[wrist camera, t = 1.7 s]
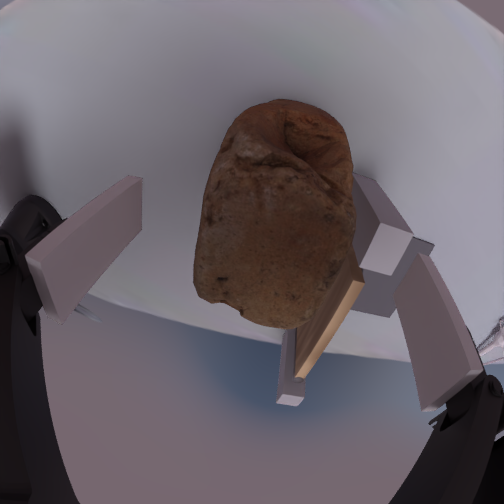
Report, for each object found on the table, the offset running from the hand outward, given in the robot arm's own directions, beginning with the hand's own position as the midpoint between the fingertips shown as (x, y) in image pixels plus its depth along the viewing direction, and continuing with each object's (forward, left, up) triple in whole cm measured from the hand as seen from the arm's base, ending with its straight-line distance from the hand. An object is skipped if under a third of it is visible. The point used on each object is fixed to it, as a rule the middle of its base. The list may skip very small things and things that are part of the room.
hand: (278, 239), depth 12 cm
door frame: (+9, -14, -19) cm, 25 cm away
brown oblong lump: (0, 0, -19) cm, 19 cm away
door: (+9, -16, -18) cm, 26 cm away
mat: (+16, -12, -19) cm, 28 cm away
